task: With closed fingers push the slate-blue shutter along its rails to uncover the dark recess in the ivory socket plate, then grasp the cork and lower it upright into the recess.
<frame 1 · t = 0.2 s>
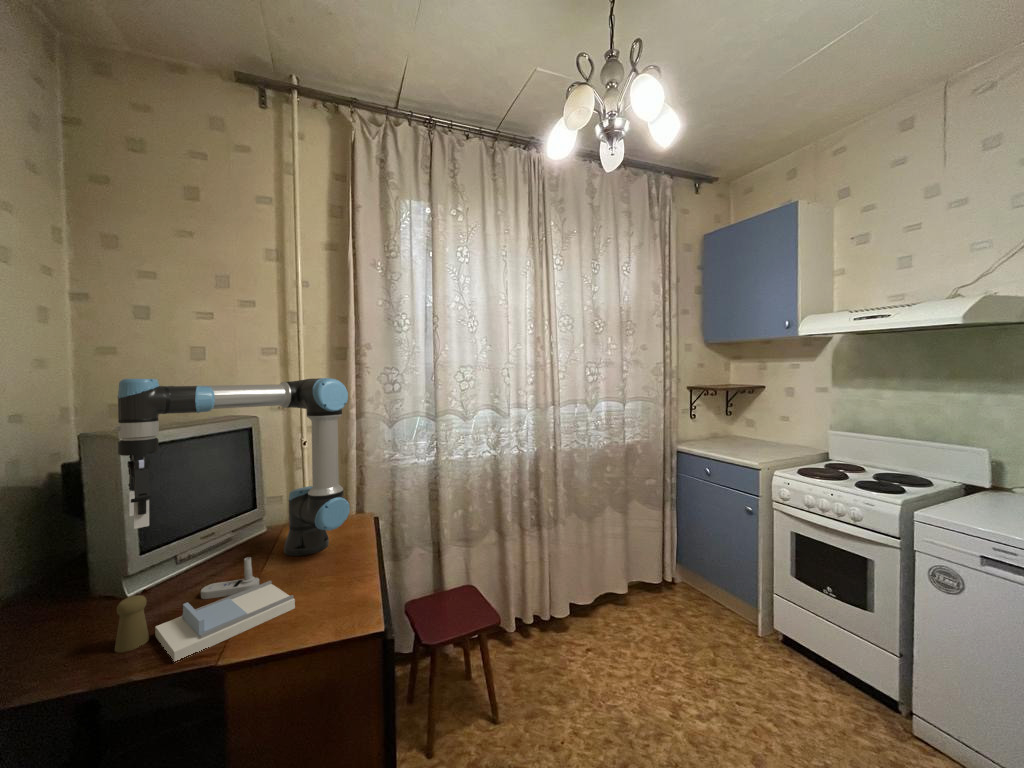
hand: (138, 520, 100), 28 cm above the table, fingers open, 13 cm apart
cork: (132, 644, 94), on the table
socket plate: (229, 621, 102), on the table
electronic device: (230, 593, 117), on the table
shutter: (215, 610, 100), point 4 cm above the table, slide at 0.0 cm
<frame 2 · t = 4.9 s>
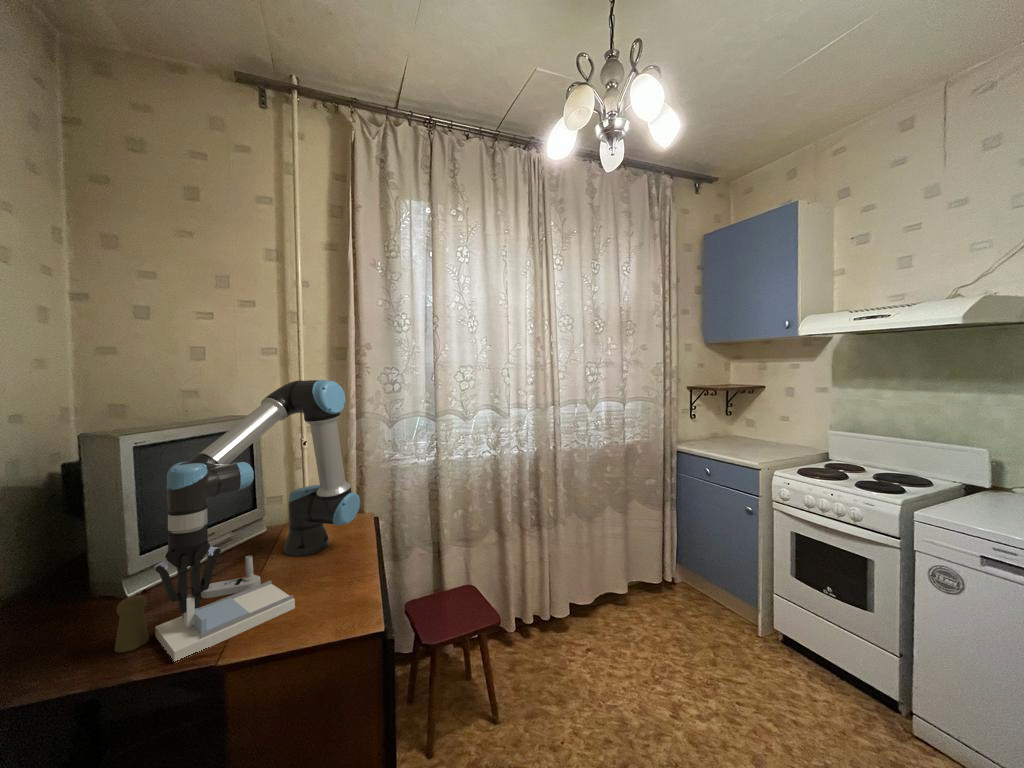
hand: (189, 623, 95), 4 cm above the table, fingers closed
shutter: (217, 609, 100), point 4 cm above the table, slide at 0.5 cm, touching gripper
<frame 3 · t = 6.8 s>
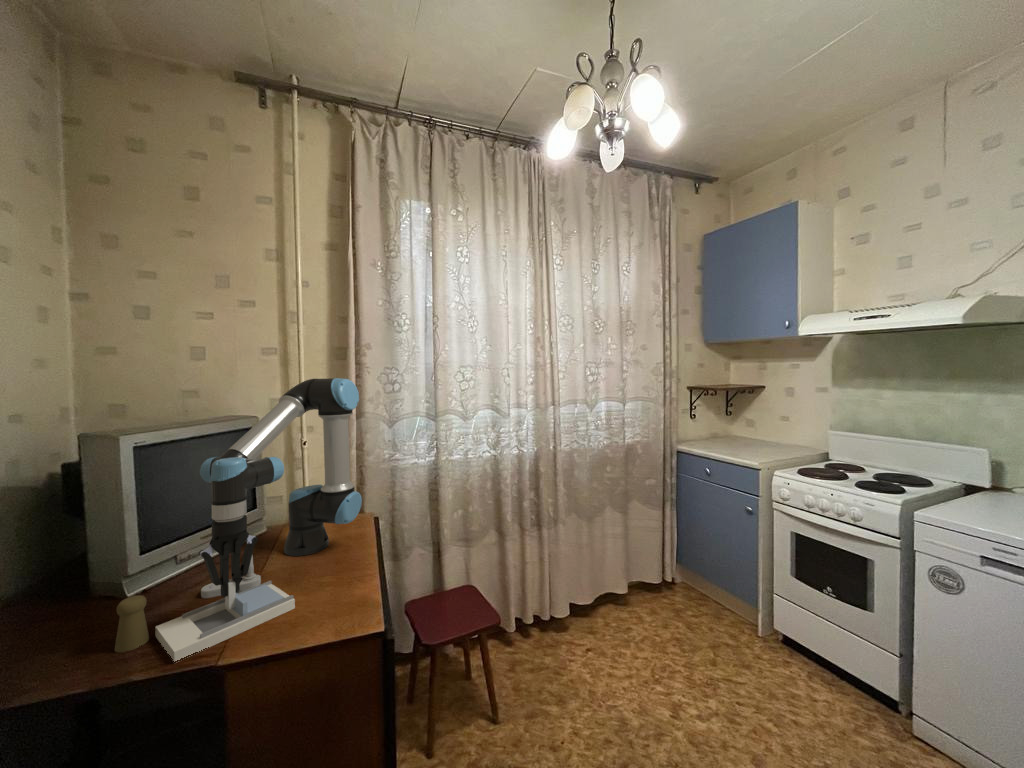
hand: (230, 606, 102), 4 cm above the table, fingers closed
shutter: (254, 594, 107), point 4 cm above the table, slide at 9.1 cm, touching gripper
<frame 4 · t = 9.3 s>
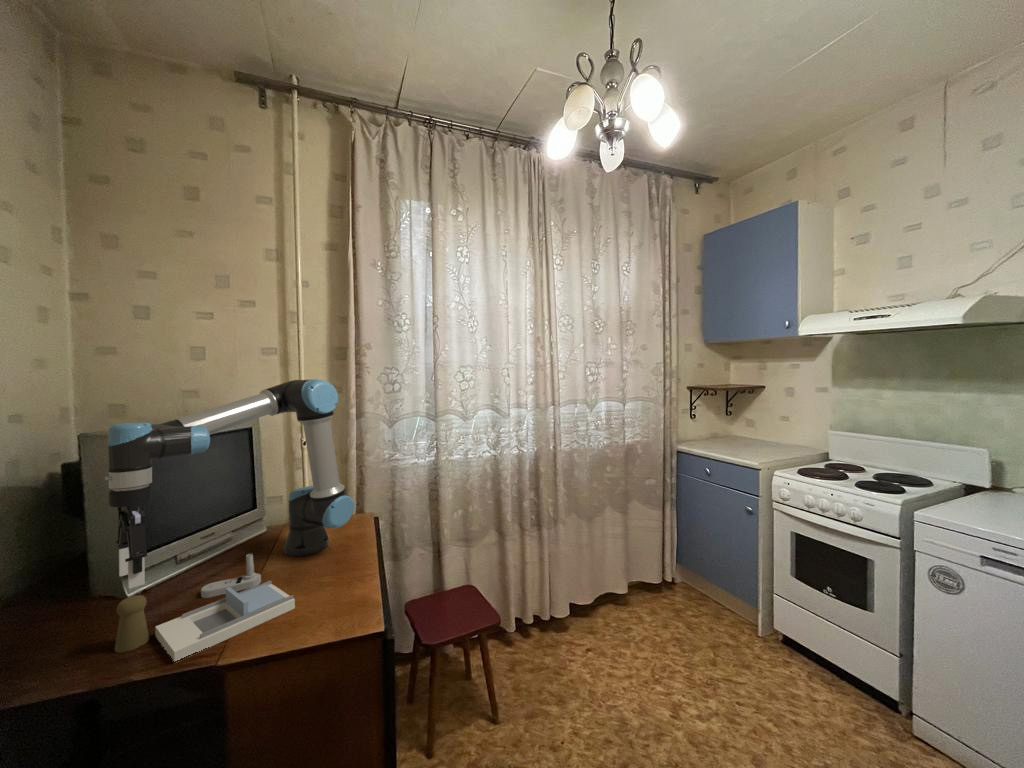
hand: (131, 579, 94), 16 cm above the table, fingers open, 9 cm apart
shutter: (255, 594, 107), point 4 cm above the table, slide at 9.2 cm
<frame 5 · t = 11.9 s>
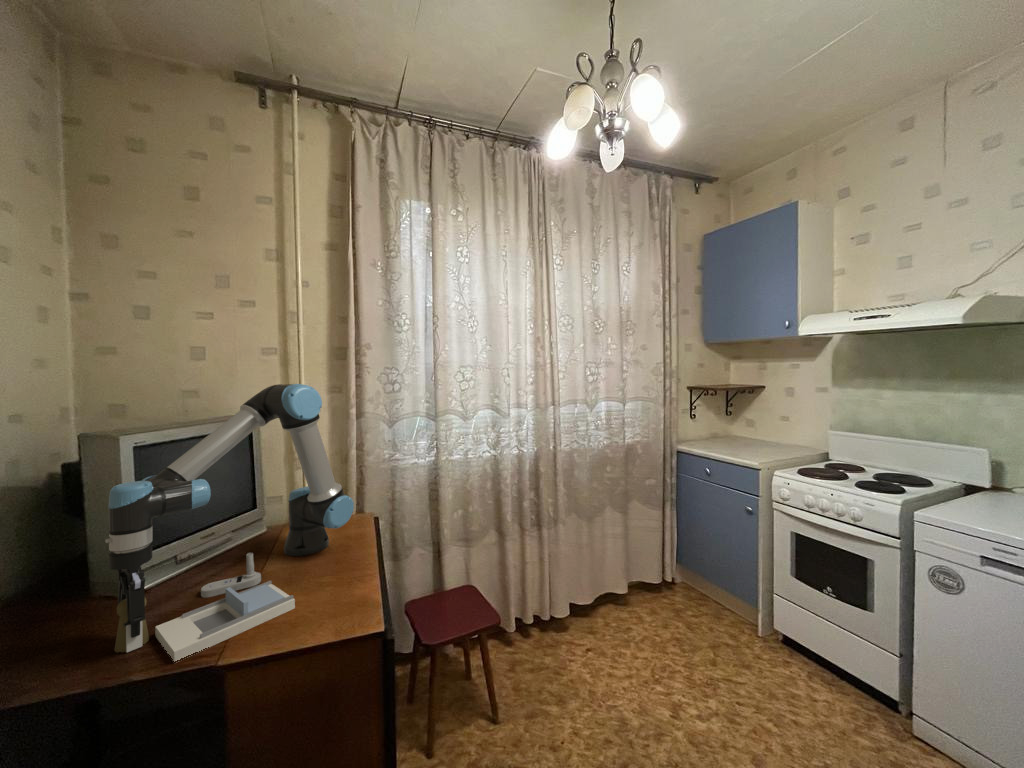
hand: (131, 643, 93), 0 cm above the table, fingers closed on cork, 6 cm apart
cork: (132, 644, 94), on the table, touching gripper
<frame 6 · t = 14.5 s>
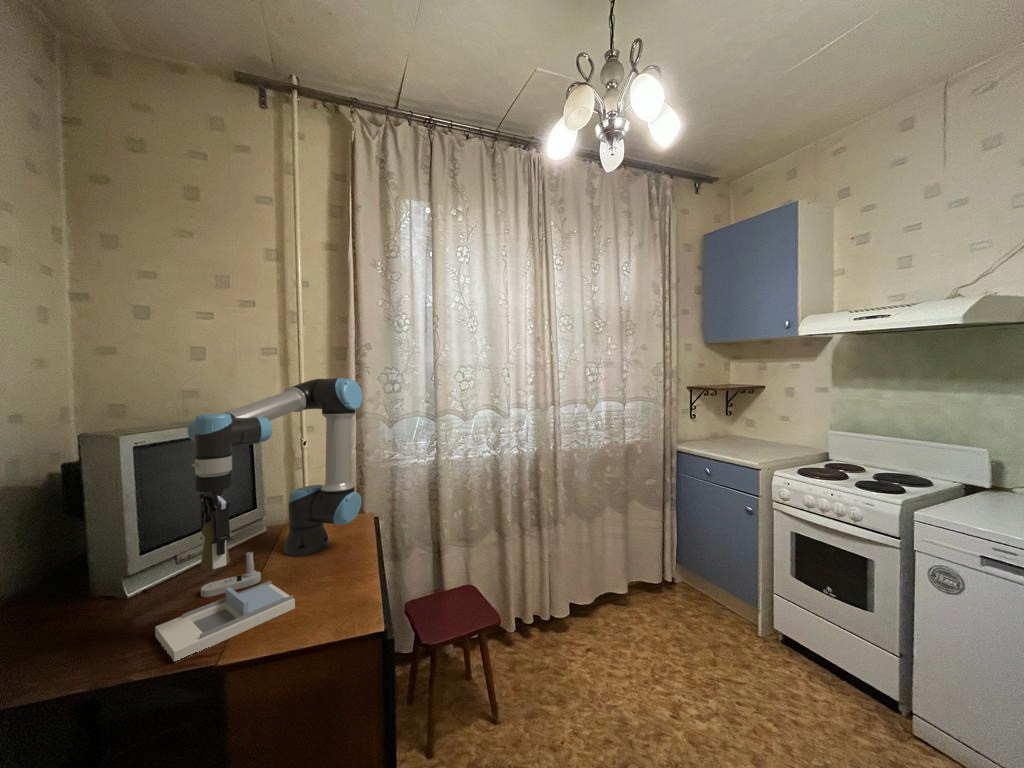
hand: (214, 563, 100), 17 cm above the table, fingers closed on cork, 6 cm apart
cork: (215, 564, 100), point 16 cm above the table, touching gripper
when the fingers open (2 cm above the table, at t = 17.4 s): cork drops 1 cm, resting on socket plate.
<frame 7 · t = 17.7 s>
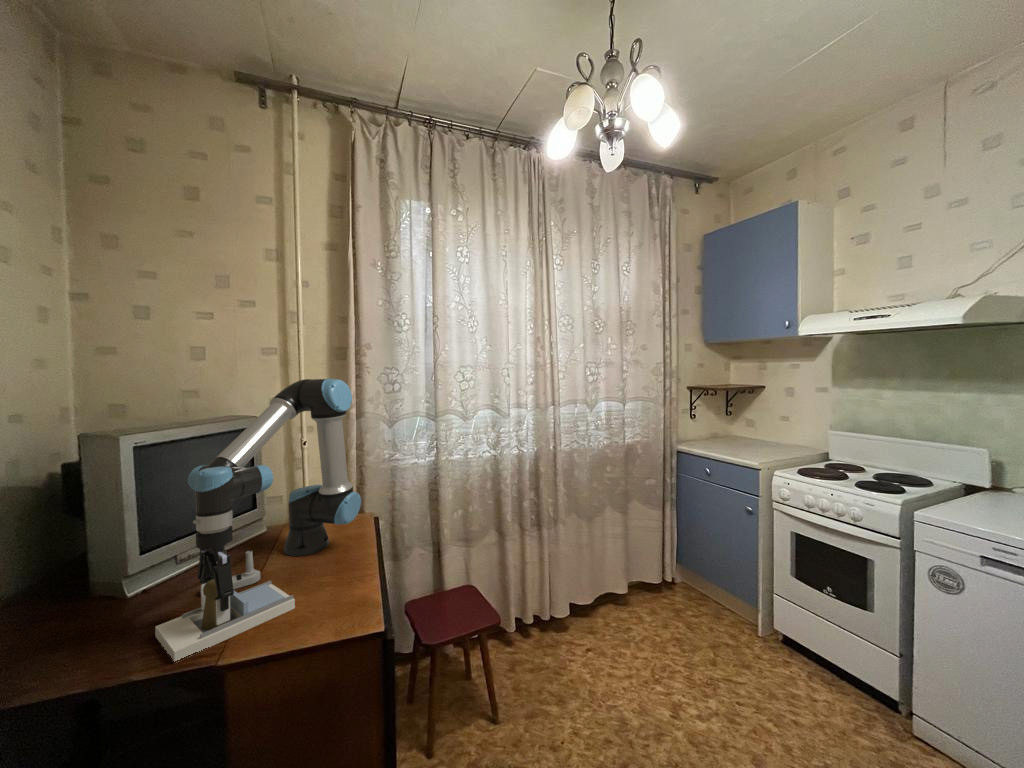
hand: (215, 614, 100), 3 cm above the table, fingers open, 10 cm apart
cork: (216, 623, 100), point 1 cm above the table, touching socket plate
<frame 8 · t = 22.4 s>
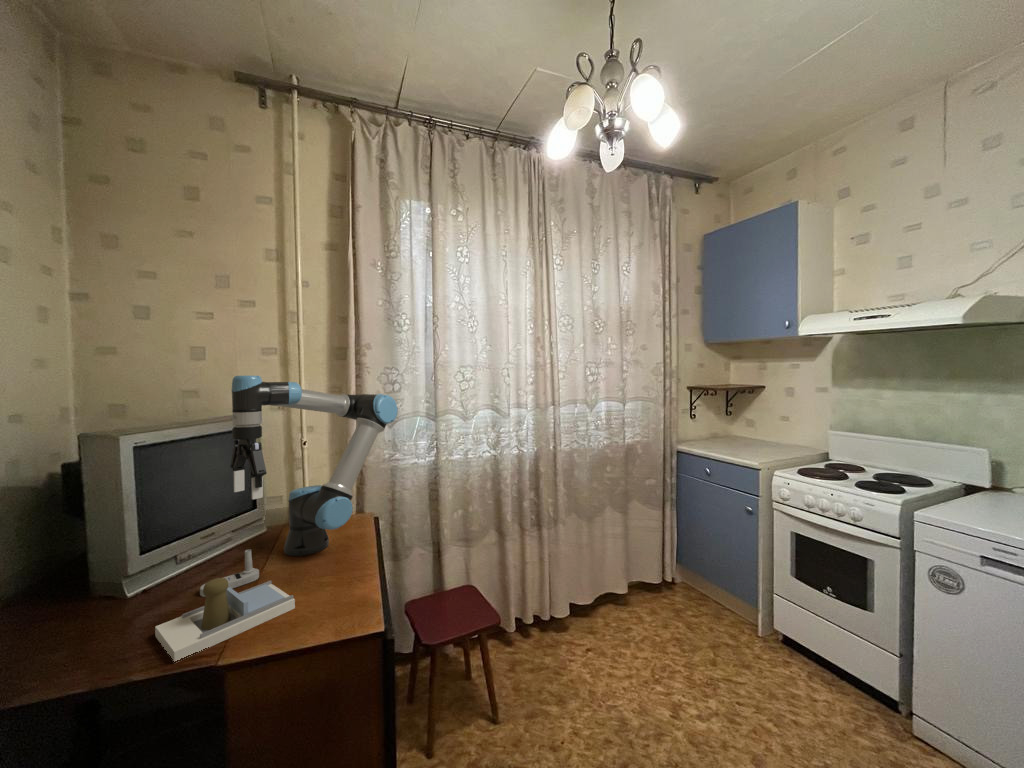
hand: (247, 494, 119), 29 cm above the table, fingers open, 13 cm apart
at the end: cork 0.2 cm from the target spot, point 0.8 cm above the table; cork tilted 0°; shutter slide at 9.2 cm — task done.
